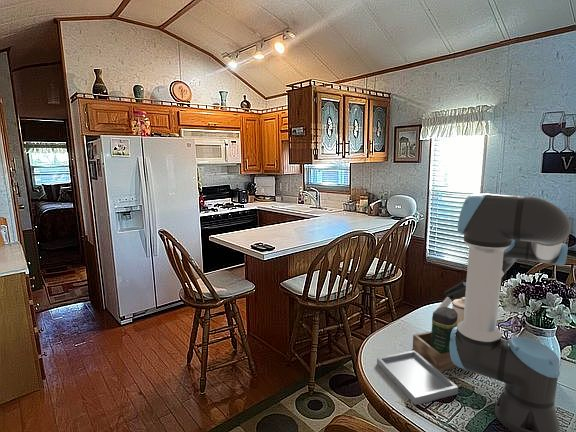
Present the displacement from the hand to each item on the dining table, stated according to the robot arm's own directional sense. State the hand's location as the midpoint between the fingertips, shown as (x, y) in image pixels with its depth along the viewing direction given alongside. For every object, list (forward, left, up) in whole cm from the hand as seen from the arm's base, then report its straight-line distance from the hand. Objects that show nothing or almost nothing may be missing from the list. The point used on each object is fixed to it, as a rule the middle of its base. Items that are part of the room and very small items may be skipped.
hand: (451, 319), depth 132 cm
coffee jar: (-1, +4, -14) cm, 15 cm away
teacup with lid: (+19, -24, -14) cm, 34 cm away
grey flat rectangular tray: (-9, +22, -14) cm, 27 cm away
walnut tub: (-1, +4, -14) cm, 14 cm away
